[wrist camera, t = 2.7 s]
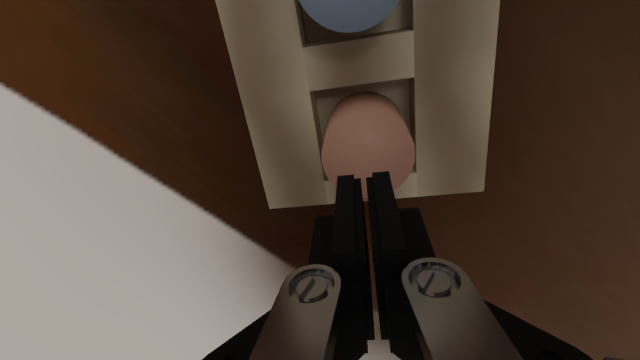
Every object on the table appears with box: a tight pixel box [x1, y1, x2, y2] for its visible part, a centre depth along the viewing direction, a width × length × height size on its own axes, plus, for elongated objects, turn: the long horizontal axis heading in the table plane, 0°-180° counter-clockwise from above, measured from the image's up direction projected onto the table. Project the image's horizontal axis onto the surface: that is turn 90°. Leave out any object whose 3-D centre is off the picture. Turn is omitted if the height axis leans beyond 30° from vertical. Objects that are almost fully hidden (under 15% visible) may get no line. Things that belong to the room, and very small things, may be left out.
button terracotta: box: [321, 91, 415, 198], centre depth 16 cm, size 4×4×4 cm
